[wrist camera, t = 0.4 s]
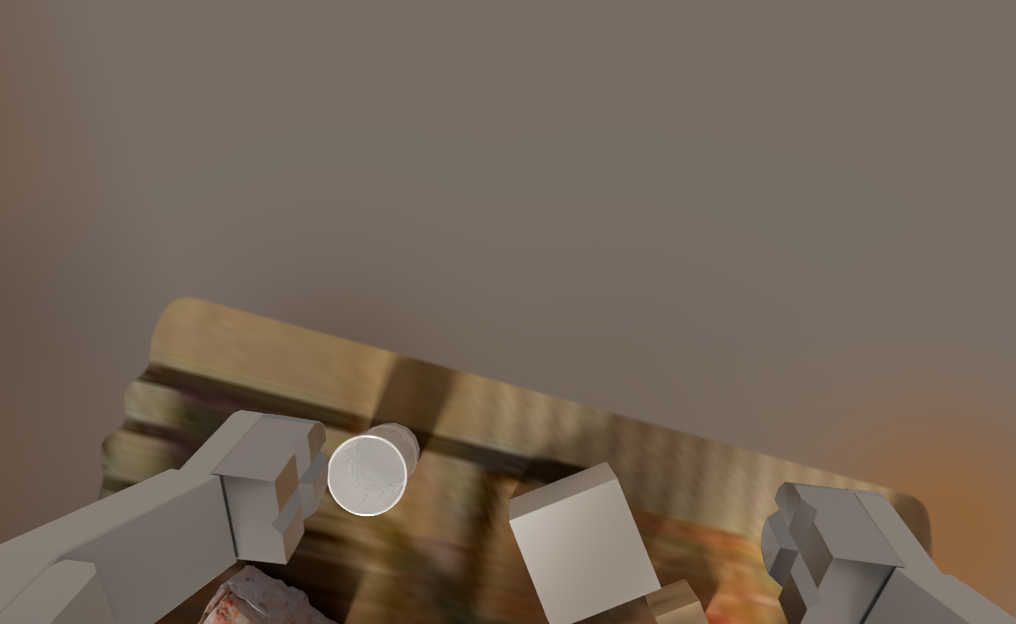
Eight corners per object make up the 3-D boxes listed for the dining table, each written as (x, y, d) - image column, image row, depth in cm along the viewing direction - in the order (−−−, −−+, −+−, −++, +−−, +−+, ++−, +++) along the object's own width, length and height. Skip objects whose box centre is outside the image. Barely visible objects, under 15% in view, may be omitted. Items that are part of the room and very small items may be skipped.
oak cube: (700, 619, 61) (717, 645, 56) (659, 634, 61) (672, 662, 56) (684, 577, 61) (699, 600, 56) (643, 593, 61) (655, 617, 56)
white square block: (645, 558, 61) (661, 588, 54) (548, 596, 61) (552, 631, 54) (605, 460, 62) (617, 478, 55) (509, 498, 62) (508, 521, 55)
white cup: (422, 414, 62) (403, 431, 52) (427, 482, 62) (410, 512, 52) (355, 420, 62) (323, 438, 52) (360, 488, 62) (330, 519, 52)
